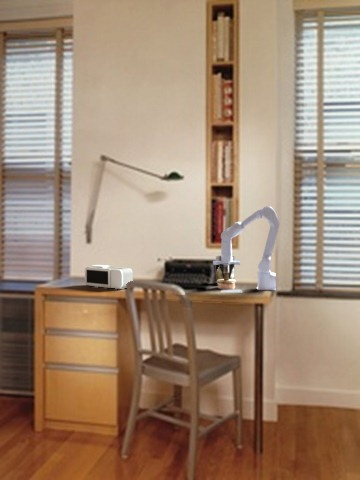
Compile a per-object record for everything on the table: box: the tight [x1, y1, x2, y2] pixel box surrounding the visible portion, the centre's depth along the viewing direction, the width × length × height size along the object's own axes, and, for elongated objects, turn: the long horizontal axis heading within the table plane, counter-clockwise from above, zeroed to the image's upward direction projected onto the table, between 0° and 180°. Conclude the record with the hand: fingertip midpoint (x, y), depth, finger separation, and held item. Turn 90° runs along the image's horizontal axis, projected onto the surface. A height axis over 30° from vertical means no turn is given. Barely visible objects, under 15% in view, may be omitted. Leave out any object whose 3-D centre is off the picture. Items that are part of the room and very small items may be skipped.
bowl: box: [217, 282, 236, 290], centre depth 288 cm, size 9×9×3 cm
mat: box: [220, 289, 244, 294], centre depth 276 cm, size 11×11×1 cm
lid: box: [217, 272, 237, 283], centre depth 288 cm, size 10×10×5 cm
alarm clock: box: [84, 264, 134, 290], centre depth 294 cm, size 27×9×12 cm, turn 55°
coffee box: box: [215, 255, 235, 285], centre depth 307 cm, size 9×6×16 cm
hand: (226, 278), depth 288 cm, fingers closed on lid, 3 cm apart
